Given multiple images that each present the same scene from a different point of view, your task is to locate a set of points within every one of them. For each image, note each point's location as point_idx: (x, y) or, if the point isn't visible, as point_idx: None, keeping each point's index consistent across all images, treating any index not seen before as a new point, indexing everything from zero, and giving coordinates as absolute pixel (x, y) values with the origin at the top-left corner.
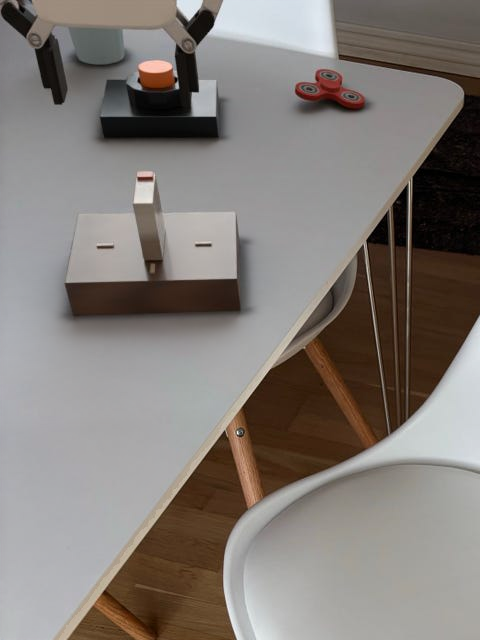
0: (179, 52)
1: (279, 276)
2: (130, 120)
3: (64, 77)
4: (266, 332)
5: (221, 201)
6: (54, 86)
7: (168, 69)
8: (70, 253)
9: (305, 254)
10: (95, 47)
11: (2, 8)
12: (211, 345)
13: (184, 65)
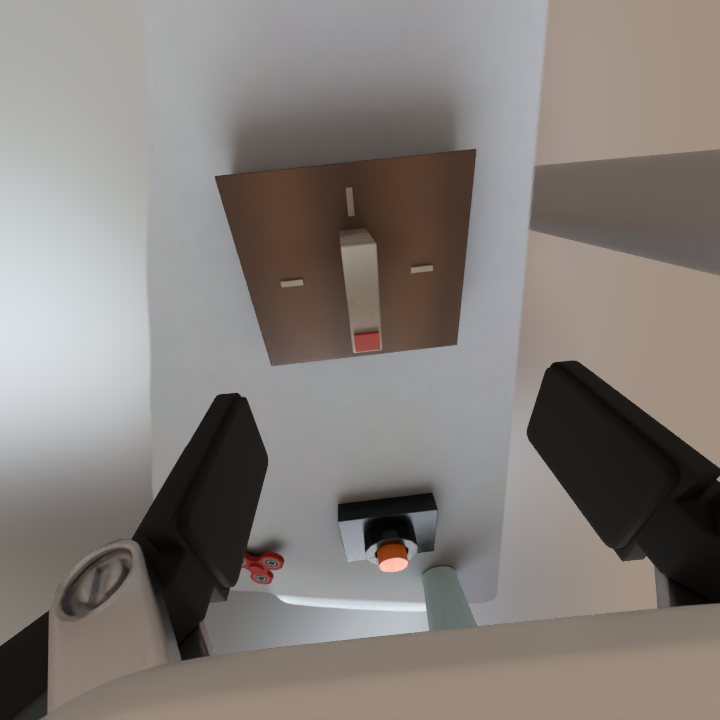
0: (168, 540)
1: (208, 275)
2: (411, 509)
3: (547, 449)
4: (173, 106)
5: (315, 418)
6: (596, 387)
7: (381, 563)
8: (466, 246)
9: (194, 328)
10: (443, 579)
11: None
12: (247, 55)
13: (162, 488)
